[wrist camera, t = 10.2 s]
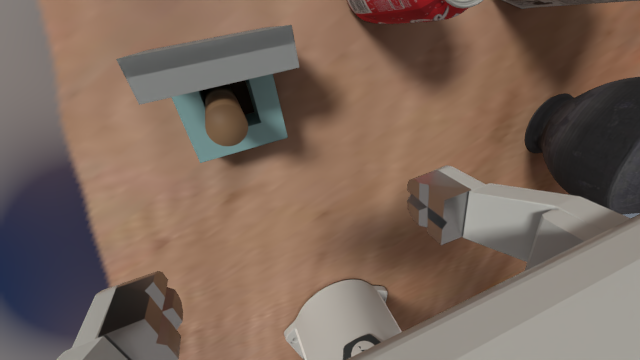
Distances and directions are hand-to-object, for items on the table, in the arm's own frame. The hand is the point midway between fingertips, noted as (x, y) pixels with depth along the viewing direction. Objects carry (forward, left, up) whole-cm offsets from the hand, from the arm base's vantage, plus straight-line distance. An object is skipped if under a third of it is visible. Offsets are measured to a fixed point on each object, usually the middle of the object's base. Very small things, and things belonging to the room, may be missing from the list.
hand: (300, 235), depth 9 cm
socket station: (+1, +1, -21) cm, 21 cm away
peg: (+1, +1, -21) cm, 21 cm away
